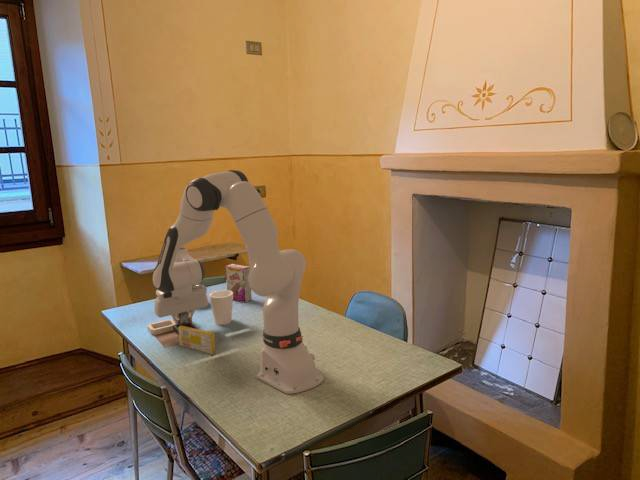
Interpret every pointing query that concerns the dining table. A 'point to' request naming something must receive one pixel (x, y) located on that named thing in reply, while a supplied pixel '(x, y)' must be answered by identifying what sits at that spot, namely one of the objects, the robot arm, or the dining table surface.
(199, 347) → the candy box
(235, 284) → the candy bar box
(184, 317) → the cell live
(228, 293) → the foam cup
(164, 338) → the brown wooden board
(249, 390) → the dining table surface
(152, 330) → the trough
